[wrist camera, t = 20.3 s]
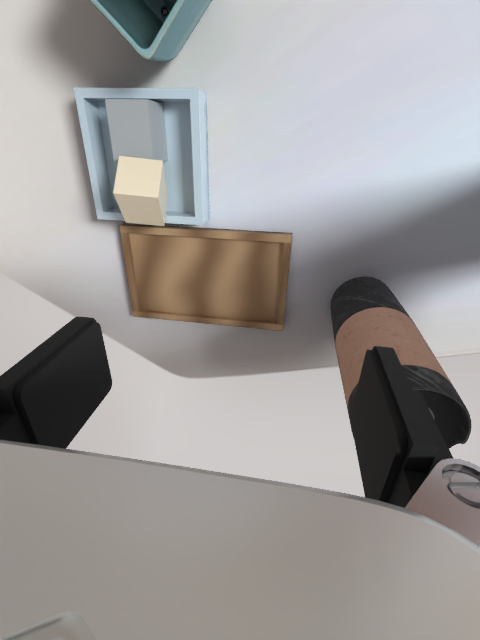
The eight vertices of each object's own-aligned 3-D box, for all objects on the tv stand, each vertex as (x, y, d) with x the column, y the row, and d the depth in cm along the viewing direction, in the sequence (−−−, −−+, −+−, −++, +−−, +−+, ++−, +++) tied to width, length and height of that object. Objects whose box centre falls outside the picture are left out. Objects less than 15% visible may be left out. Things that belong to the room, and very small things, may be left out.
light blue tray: (206, 92, 32) (198, 88, 29) (209, 219, 38) (202, 225, 35) (91, 91, 33) (73, 87, 31) (110, 214, 39) (97, 219, 36)
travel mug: (323, 281, 39) (344, 393, 21) (393, 268, 37) (477, 380, 20) (332, 335, 42) (356, 471, 25) (396, 326, 40) (471, 467, 23)
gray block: (147, 99, 29) (153, 162, 31) (163, 104, 32) (168, 160, 35) (104, 99, 29) (114, 161, 32) (125, 103, 33) (132, 159, 35)
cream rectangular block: (168, 193, 36) (162, 160, 31) (164, 226, 35) (158, 197, 30) (130, 189, 35) (119, 155, 31) (125, 222, 34) (113, 193, 30)
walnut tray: (292, 233, 37) (291, 235, 36) (283, 326, 43) (282, 330, 42) (123, 223, 39) (119, 225, 38) (137, 312, 45) (133, 316, 44)
